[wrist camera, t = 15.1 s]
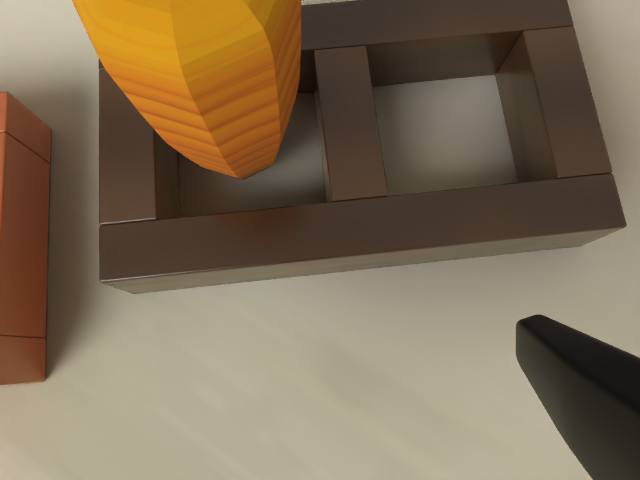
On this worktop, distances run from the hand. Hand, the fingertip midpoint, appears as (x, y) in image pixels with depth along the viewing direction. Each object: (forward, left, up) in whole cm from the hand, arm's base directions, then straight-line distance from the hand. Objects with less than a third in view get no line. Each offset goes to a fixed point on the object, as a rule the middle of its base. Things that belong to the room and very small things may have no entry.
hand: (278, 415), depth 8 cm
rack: (+9, +4, -10) cm, 14 cm away
